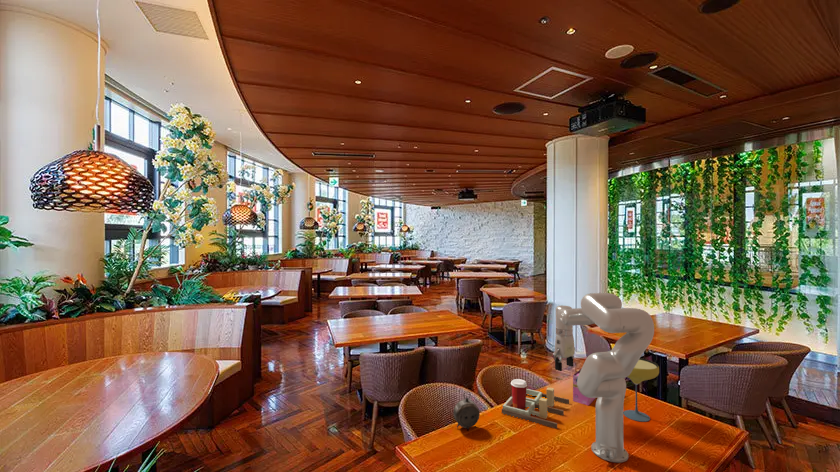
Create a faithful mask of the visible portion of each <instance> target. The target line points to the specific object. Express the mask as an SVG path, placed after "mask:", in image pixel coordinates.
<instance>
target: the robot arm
mask: <svg viewBox="0 0 840 472" xmlns="http://www.w3.org/2000/svg"><path fill="white" fill-rule="evenodd" d="M593 324H595V325H596V326H597V327H598V328H599V329H600V330H602V331H604V332H605V333H609V334H622V333H623V335H622V336H621V337H619V339H617V340H616V342H615V344H614V345H613V347H612V348H611V350H608V351H598V352H593V353H591V354H589V355H588V356H587V357H586V358H585V361H584V363H583V365H582V367H581V368H582V369H581V368H580V369H581V371H580V373H579V375H578V380H577V385H578V389H579V391H580V393H581V394H582V395H584V396H585V397H588V398H595V399H596V398H597V399H596V402H595V441H594V442H592V444H591V447H590V448H591V451H592V452H593V454H595V455H596V456H597V457H598V458H600V459H601V460H604V461H608V462H611V463H624V462H627V461H628V459H629V453H628V451H627V450H626V449H625V448H624V447H625V445H624V414H623V412H624V402H625V396H626V391H627V382H626V380H625V378H628V376H629V375H630V374H631V372H632V370H633V369H634V367H635V365H636V364H637V362H638V360H639V359H640V358H641V357H642V355H643V354H644V353H645V351H646V349H647V348H648V347H649V346H650V344H651V343H652V341H653V338H654V335H655V324H654V320H653V318H652V316H651V315H650V313H648V312H647V311H645V310H643V309H641V308H636V307H635V308H634V307H623V302H622V299H621V298H620V297H619V296H617V295H616V294H614V293H610V292H595V293H593V292H591V293H587V294H585V295H583V296H582V298H581V300H580V307H579V308H578V307H576V308H575V307H574V308H573V307H571V306H569V305H563V304H562V305H557V306H556V307H555V339H554V341H555V342H554V351H553V353H552V357H553V361H554V370H556V371H559V372H562V371H563V362H562V360H563V359H566V366H568V367H571V368H572V367H574V358H575V356H574V355H575V351H576V347H575V339H574V332H573V331H574V328H573V326H589V325H593ZM624 333H625V334H624Z"/></svg>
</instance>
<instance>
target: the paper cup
mask: <svg viewBox="0 0 840 472" xmlns="http://www.w3.org/2000/svg"><path fill="white" fill-rule="evenodd" d="M510 386H511V397H512V400H513V404H512V407H514V408H517V409H521V410H525V411H526V407H525V406H526V398H527V395H526V390H527V389H528V388H527V387H528V384H527V381H526V380H524V379H522V378H521V379H520V378H516V379H515V378H514V379H512V380H511V382H510Z"/></svg>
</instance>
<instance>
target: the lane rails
mask: <svg viewBox="0 0 840 472" xmlns="http://www.w3.org/2000/svg"><path fill="white" fill-rule="evenodd" d="M542 397H545V398H546V393H544V392H542ZM554 400H555V401H554V402H557V401H558V403H562V404H567V405H570V399H568V398H565V397H559V396H555V395H554ZM535 408H538V409H537V410H539V403H538V404H535ZM547 411H548V412H547V413H551V414H556V415H559V416H564V414H565V413H564V410H563V409H559V408H556V407H555V408H554V407H551V406H547ZM502 413H503V414H502ZM501 414H502V415H505V414H507V415H506V416H508V415H511V416H510V417H512V416H514V417H513V418H516V417H518V418H517V419H519V418H521V419H520V420H523V419H525V420H524V421H527V420H529V421H528V422H530V421H532V422H531V423H534V422H535V423H534V424H537V423H539V424H538V425H541V424H542V425H541V426H546V427H549V428H553V429H558V423H557V422H554V421H550V420H546V419H544V418H541V417H537V416H533V415H532V416H531V415H530V416H528V415H525V414H521V413H517V412H513V411H510V410H506V409H503V408H501Z"/></svg>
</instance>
